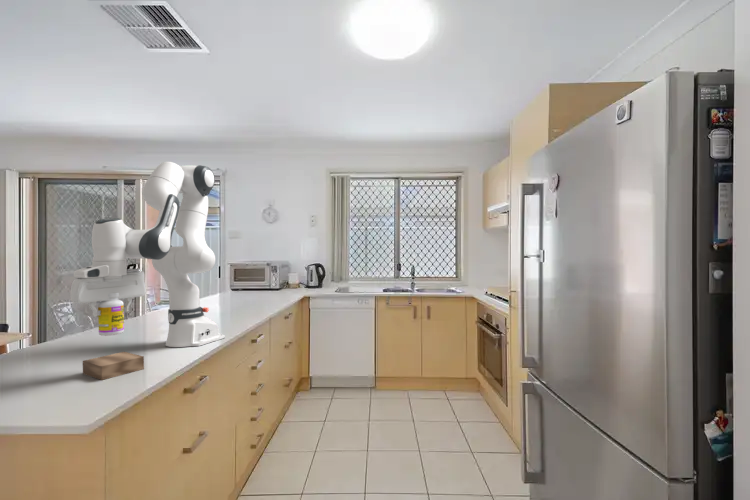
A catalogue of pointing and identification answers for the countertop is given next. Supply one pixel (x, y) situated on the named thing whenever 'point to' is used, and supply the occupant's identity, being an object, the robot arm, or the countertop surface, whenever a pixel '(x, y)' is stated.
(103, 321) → the supplement bottle
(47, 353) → the countertop surface
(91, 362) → the walnut base
